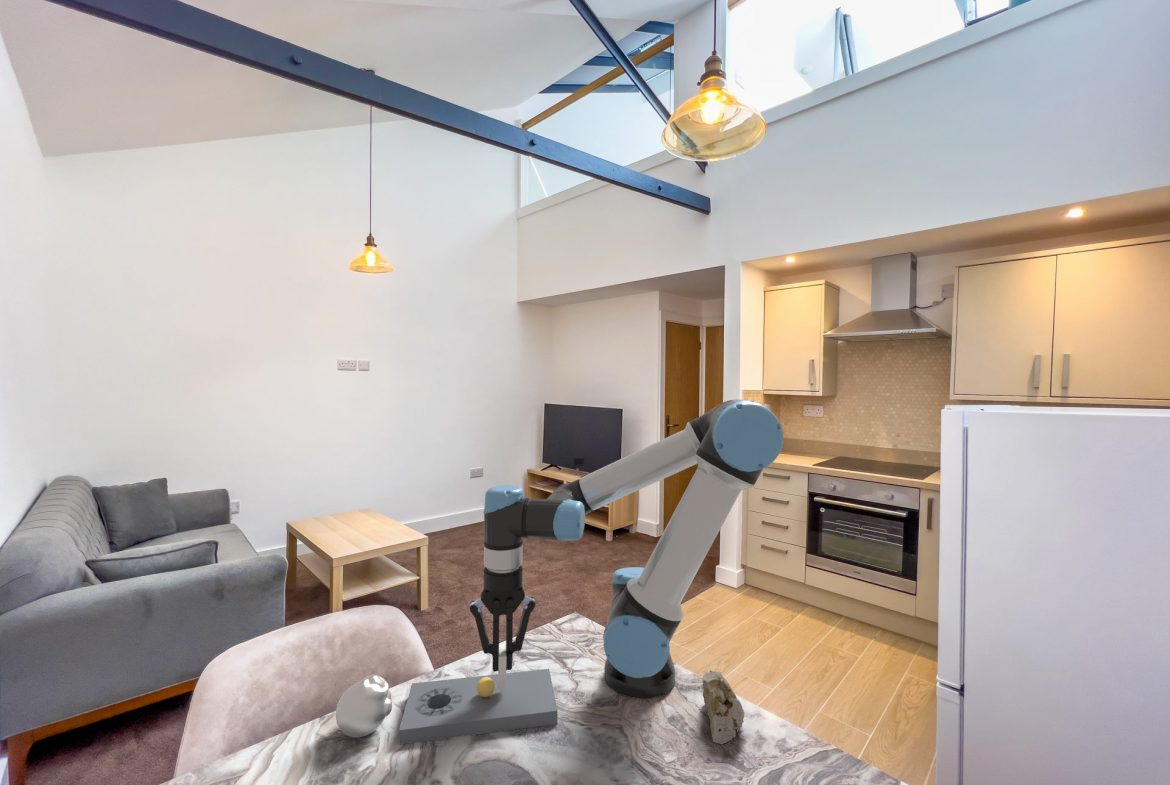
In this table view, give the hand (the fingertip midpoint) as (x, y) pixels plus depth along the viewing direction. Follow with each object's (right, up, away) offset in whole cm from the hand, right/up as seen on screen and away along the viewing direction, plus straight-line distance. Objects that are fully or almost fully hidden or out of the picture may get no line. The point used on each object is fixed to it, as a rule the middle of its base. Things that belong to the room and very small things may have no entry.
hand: (502, 685), depth 97 cm
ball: (-3, 0, -1) cm, 3 cm away
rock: (+42, -4, -4) cm, 42 cm away
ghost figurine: (-24, -4, -7) cm, 25 cm away
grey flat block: (-4, -4, -1) cm, 6 cm away
